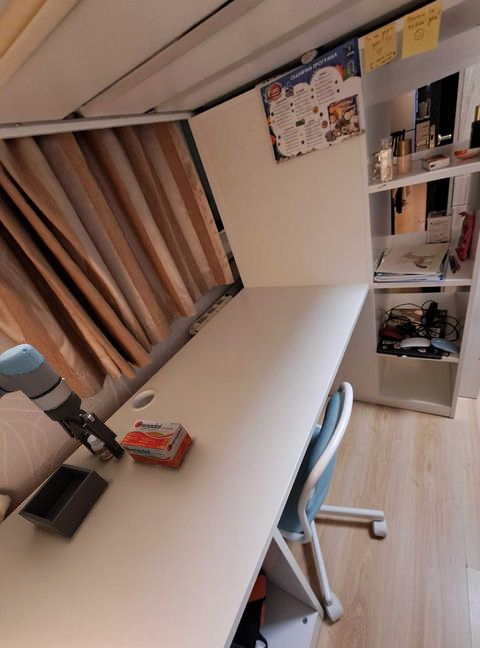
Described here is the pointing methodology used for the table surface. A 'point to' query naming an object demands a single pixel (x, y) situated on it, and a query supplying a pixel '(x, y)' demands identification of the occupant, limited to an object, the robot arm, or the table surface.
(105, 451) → the pill bottle
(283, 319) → the table surface
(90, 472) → the basket
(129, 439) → the medicine box
